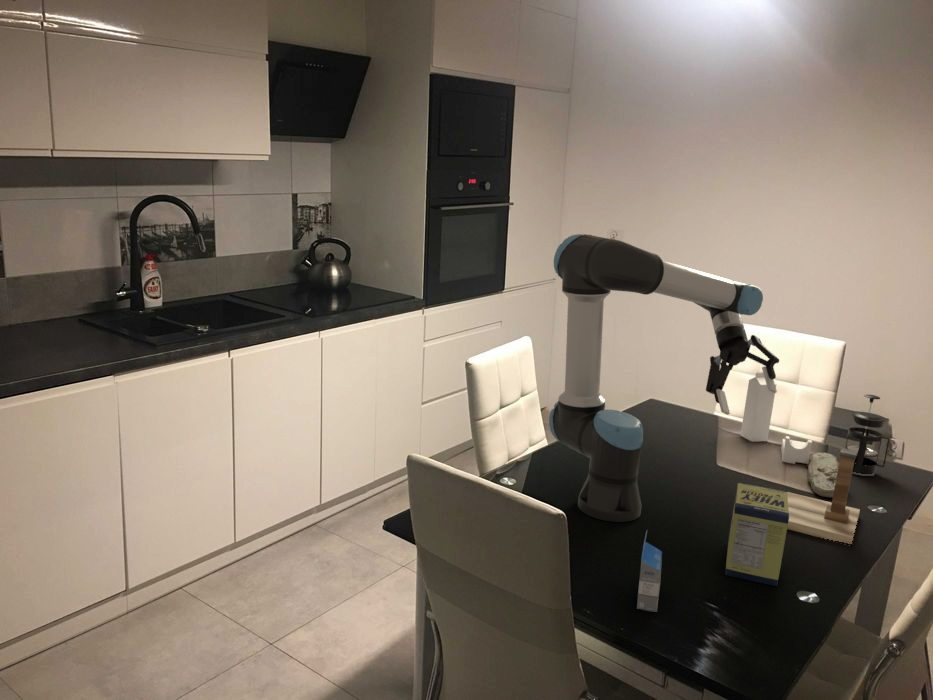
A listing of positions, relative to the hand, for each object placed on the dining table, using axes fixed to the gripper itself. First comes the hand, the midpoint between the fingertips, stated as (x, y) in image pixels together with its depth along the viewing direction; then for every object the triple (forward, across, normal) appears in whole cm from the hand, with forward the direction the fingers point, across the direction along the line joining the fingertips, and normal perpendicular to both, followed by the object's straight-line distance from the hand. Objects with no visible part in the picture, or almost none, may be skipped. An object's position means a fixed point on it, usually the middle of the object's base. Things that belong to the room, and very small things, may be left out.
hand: (748, 402), depth 200 cm
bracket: (-6, +17, -52) cm, 55 cm away
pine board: (+26, +2, -18) cm, 32 cm away
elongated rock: (+7, +7, -46) cm, 47 cm away
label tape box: (+53, +9, +42) cm, 69 cm away
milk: (-18, +29, -54) cm, 64 cm away
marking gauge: (+27, -4, -20) cm, 34 cm away
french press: (+2, +3, -60) cm, 60 cm away
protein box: (+43, +2, +13) cm, 45 cm away
